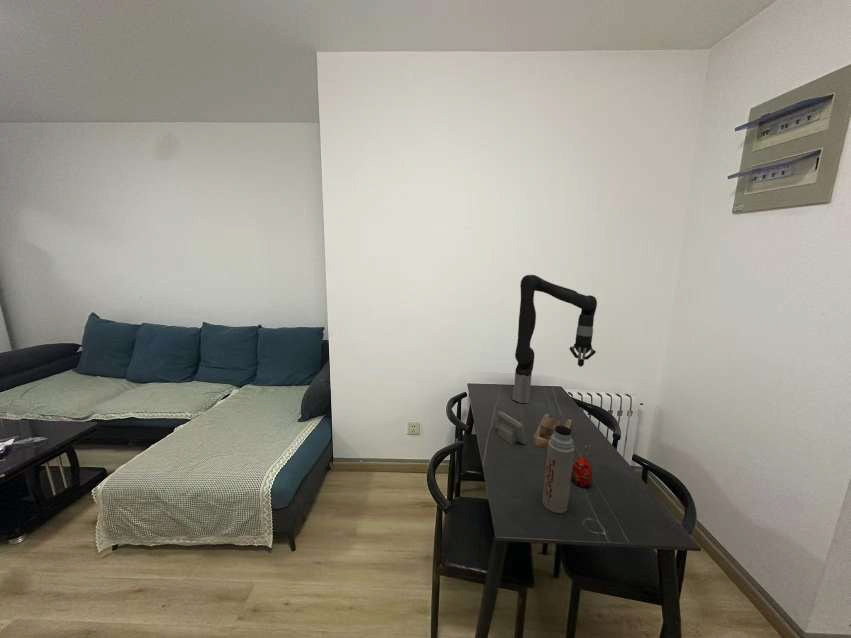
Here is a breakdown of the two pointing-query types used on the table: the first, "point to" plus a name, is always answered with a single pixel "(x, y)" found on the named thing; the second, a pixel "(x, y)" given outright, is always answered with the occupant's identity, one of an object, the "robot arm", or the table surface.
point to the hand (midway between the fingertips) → (580, 366)
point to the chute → (542, 441)
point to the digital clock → (510, 429)
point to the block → (548, 428)
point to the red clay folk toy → (582, 471)
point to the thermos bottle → (558, 470)
